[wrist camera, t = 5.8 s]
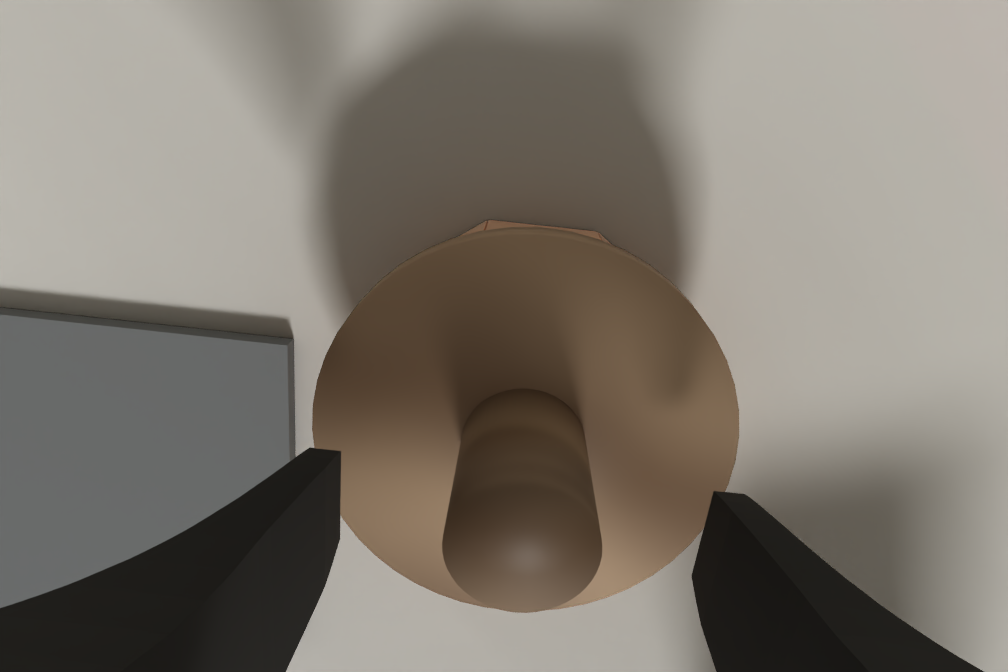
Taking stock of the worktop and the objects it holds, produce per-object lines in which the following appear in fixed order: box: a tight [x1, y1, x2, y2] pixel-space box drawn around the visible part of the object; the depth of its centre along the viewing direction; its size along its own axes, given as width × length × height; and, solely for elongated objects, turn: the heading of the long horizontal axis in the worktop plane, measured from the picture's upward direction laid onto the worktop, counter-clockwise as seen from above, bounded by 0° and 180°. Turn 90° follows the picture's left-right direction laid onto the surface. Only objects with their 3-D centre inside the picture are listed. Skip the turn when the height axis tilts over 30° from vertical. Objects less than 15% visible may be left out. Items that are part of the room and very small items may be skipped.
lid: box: [312, 227, 739, 613], centre depth 13 cm, size 10×10×4 cm
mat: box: [0, 307, 295, 608], centre depth 20 cm, size 11×11×1 cm
